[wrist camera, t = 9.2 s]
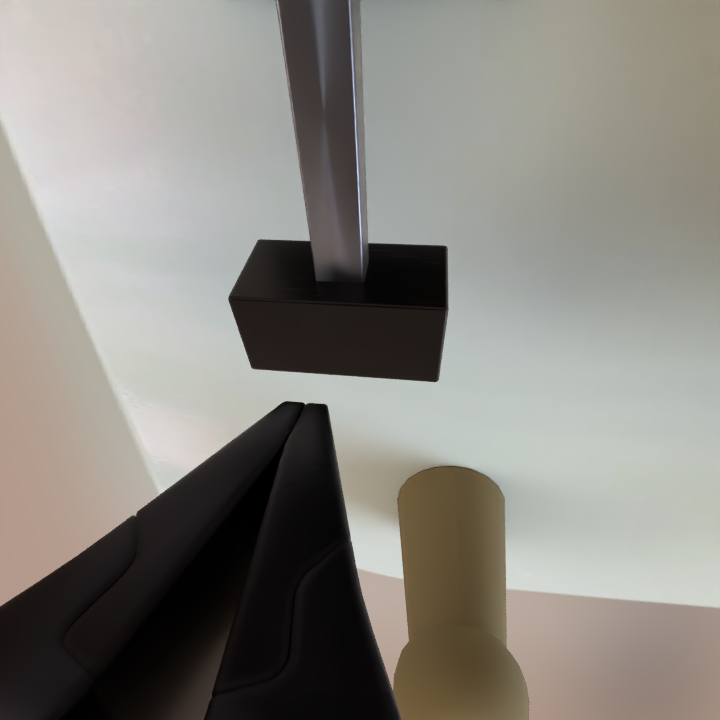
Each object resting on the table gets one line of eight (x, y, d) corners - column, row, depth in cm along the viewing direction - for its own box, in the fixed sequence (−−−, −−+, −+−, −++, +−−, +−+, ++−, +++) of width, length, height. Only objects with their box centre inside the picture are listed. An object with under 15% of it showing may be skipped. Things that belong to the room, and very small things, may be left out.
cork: (477, 548, 27) (502, 792, 18) (384, 520, 27) (359, 752, 17) (525, 486, 23) (586, 746, 14) (418, 453, 23) (410, 695, 14)
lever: (438, 318, 13) (438, 383, 12) (274, 309, 14) (251, 369, 12) (585, -886, 4) (715, -1606, 2) (19, -740, 4) (-281, -1180, 2)
